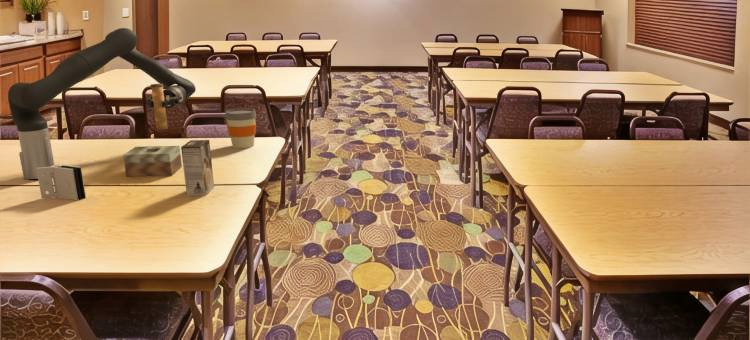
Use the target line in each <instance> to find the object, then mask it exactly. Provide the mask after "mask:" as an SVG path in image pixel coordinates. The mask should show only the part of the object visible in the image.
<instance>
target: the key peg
mask: <svg viewBox="0 0 750 340" xmlns="http://www.w3.org/2000/svg"><path fill="white" fill-rule="evenodd" d="M150 89H151V96H152V97H151V98H152V99H153V105H154V107H153V111H154V120H155V126H156V127H155V128H156V130H167V129H168V119H167V110H166V108H165V107H162V101H164V93H163V90H164V86H163V84H159V83H153V84H150Z"/></svg>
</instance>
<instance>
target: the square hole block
mask: <svg viewBox="0 0 750 340" xmlns="http://www.w3.org/2000/svg"><path fill="white" fill-rule="evenodd" d="M122 157H123V162H124V171H125V177H126V178H130V177H131V178H134V177H135V178H136V177H139V178H140V177H169V176H170V177H171V176H173V175H175V174H176V173H177V172H178V171H179V170H180V169H181V168H182V167H183V165H182V164H183V162H182V153H181V146H180V145H154V146H151V145H150V146H149V145H148V146H135V147H133V148H131V149H130V150H129V151H127V152H125V153H124V154H123V155H122Z"/></svg>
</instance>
